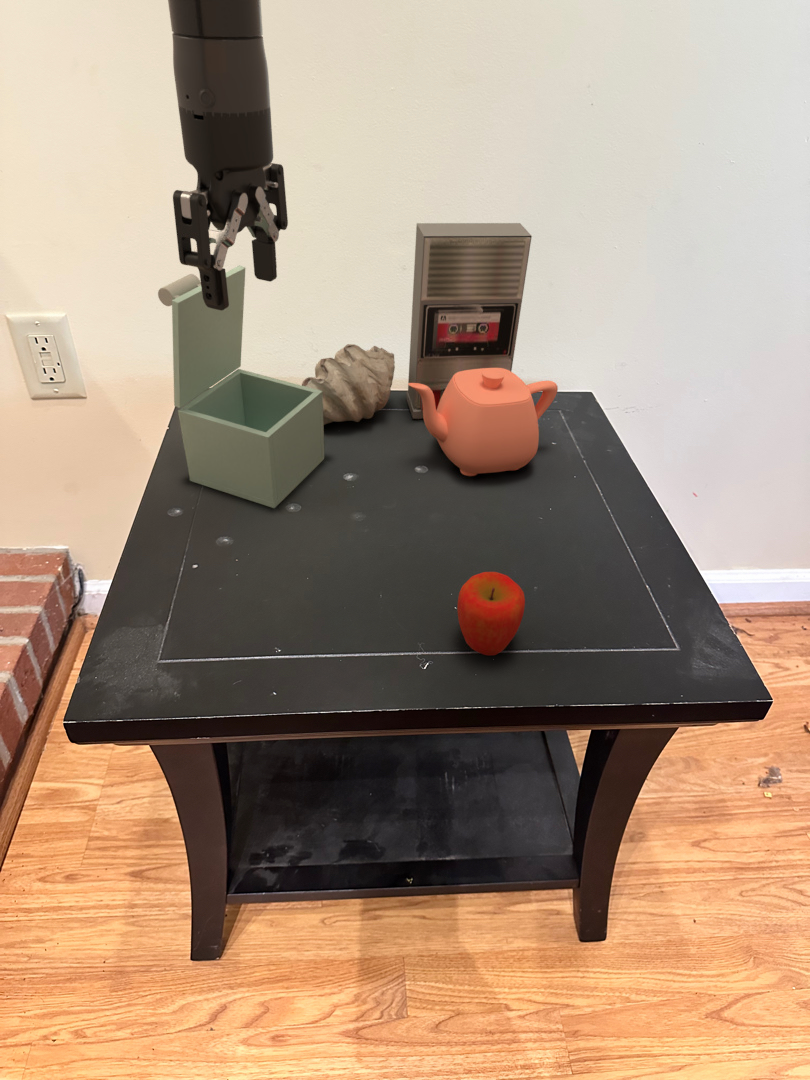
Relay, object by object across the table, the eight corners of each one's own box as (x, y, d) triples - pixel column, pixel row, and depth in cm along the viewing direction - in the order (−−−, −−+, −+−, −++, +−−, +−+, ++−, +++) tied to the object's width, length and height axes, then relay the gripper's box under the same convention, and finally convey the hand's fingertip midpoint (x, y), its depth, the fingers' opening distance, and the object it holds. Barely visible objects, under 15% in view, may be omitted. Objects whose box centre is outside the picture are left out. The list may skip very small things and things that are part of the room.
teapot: (390, 439, 99) (393, 355, 91) (526, 423, 104) (539, 342, 96) (419, 495, 89) (425, 407, 81) (567, 475, 94) (586, 390, 86)
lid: (245, 267, 83) (205, 251, 84) (178, 302, 74) (134, 284, 75) (240, 366, 91) (204, 350, 92) (179, 408, 83) (140, 390, 84)
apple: (452, 617, 73) (459, 561, 69) (513, 621, 73) (524, 565, 69) (453, 665, 68) (460, 608, 64) (518, 669, 68) (531, 612, 64)
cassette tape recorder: (413, 421, 103) (423, 238, 87) (406, 400, 107) (415, 223, 92) (507, 417, 105) (534, 238, 89) (496, 396, 110) (521, 222, 94)
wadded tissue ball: (406, 430, 101) (409, 364, 94) (298, 440, 98) (294, 371, 91) (390, 395, 108) (392, 331, 102) (289, 402, 105) (285, 337, 99)
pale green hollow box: (324, 458, 94) (322, 390, 88) (274, 508, 86) (268, 437, 80) (245, 435, 98) (238, 368, 92) (189, 481, 89) (177, 410, 83)
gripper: (233, 85, 67) (249, 265, 77) (130, 106, 56) (164, 310, 67) (306, 94, 65) (312, 277, 75) (212, 118, 54) (234, 327, 65)
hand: (242, 293), depth 71 cm, fingers open, 8 cm apart
